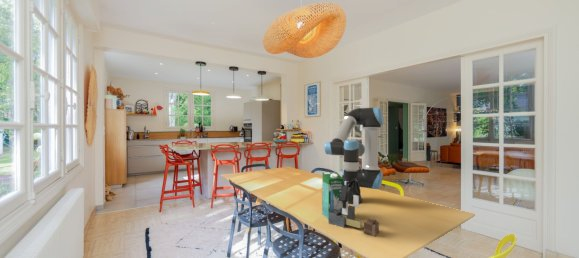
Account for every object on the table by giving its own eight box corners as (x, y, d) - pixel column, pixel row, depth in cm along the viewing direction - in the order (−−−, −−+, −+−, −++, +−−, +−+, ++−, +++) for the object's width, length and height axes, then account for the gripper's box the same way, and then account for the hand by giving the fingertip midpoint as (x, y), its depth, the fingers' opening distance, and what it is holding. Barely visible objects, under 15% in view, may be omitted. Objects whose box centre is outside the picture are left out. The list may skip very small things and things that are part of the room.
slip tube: (332, 218, 132) (332, 201, 132) (362, 226, 121) (362, 208, 121) (329, 219, 129) (330, 203, 129) (360, 228, 119) (360, 210, 119)
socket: (368, 229, 121) (368, 217, 121) (378, 231, 118) (378, 219, 118) (363, 233, 116) (364, 220, 116) (374, 236, 113) (374, 223, 113)
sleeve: (334, 219, 133) (334, 208, 133) (349, 223, 128) (349, 212, 128) (328, 223, 128) (328, 212, 128) (343, 227, 123) (344, 216, 123)
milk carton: (328, 220, 132) (328, 175, 132) (322, 214, 141) (322, 172, 141) (343, 218, 135) (343, 174, 134) (336, 212, 144) (336, 171, 143)
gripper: (354, 166, 135) (353, 203, 135) (333, 172, 116) (332, 215, 116) (367, 167, 131) (366, 206, 131) (347, 174, 111) (347, 219, 111)
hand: (350, 210), depth 123 cm, fingers open, 13 cm apart
